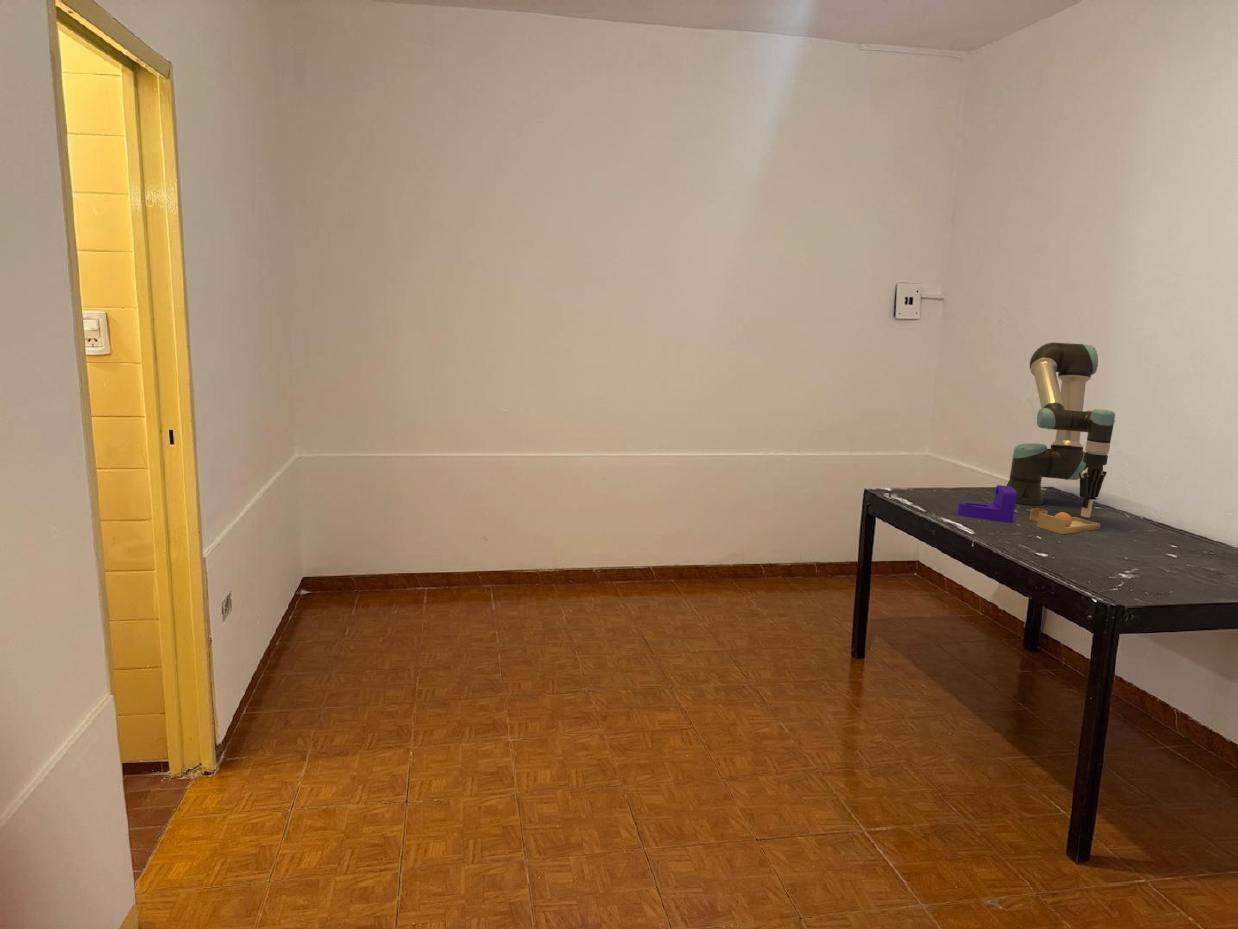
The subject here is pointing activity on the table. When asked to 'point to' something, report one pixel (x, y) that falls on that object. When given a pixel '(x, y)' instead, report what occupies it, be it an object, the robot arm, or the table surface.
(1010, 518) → the bracket
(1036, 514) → the open wooden box
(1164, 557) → the table surface
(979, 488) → the table surface
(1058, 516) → the ball
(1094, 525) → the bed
